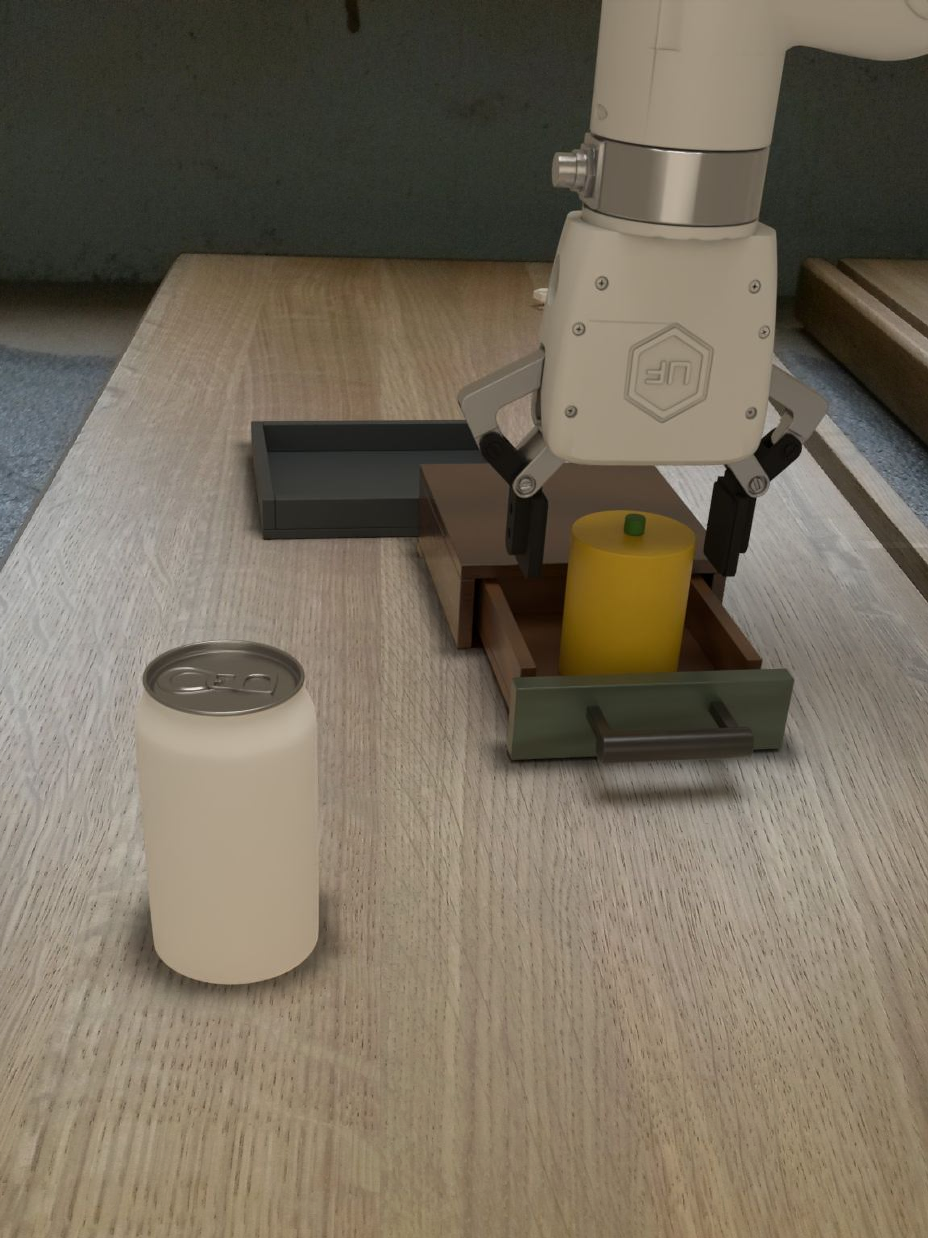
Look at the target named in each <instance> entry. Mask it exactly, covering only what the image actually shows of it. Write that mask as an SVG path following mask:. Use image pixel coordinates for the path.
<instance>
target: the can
mask: <svg viewBox="0 0 928 1238" xmlns="http://www.w3.org/2000/svg"><path fill="white" fill-rule="evenodd" d="M305 676H306V675H305V670H304V668H303V666H302V664H301V663H300V661H299V660H298V659H296V658H295V657H294V656H293V655H292V654H290V653H288V652H287V651H285V650H282V649H281V648H278V647H275V646H272V645H269V644H264V643H262V642H257V641H251V640H241V639H213V640H203V641H197V642H192V643H187V644H183V645H181V646H177V647H174V648H172V649H169V650H167V651H165V652H163V653H161V654H160V655H158V656H156V657H155V658H154V659H152V660H151V661H149V663H148V664H147V666H146V667H145V668H144V670H143V673H142V679H141V680H142V686H143V688H144V690H143V692H142V694H141V697H140V699H139V701H138V702H137V705H136V709H135V712H134V722H133V723H134V725H133V727H134V740H135V753H136V754H135V755H136V767H137V779H138V788H139V789H138V790H139V798H140V799H139V801H140V811H141V813H140V814H141V824H142V834H143V845H144V856H145V867H146V875H147V876H146V879H147V889H148V900H149V909H150V910H149V911H150V921H151V930H152V940H153V947H154V949H155V952H156V954H157V956H158V957H159V959H160V960H161V961H162V962H163V963H164V964H165V965H166V966H167V967H169V968H170V969H172V970H173V971H175V972H176V973H178V974H180V975H182V976H184V977H187V978H190V979H192V980H196V981H199V982H203V983H207V984H209V983H210V984H216V985H246V984H252V983H258V982H263V981H266V980H271V979H273V978H277V977H279V976H281V975H283V974H285V973H288V972H289V971H291V970H294V968H297V967H298V966H299V965H301V964H302V963H303V962H304V961H305V960H307V958H308V957H309V956H310V955H311V954H312V952H313V951H314V949H315V947H316V946H317V942H318V941H319V931H320V929H319V928H320V927H319V925H320V905H319V904H320V887H319V885H320V881H319V880H320V878H319V877H320V875H319V873H320V872H319V868H320V867H319V866H320V863H319V859H320V858H319V857H320V856H319V855H320V854H319V853H320V852H319V851H320V850H319V764H318V759H319V758H318V757H319V756H318V755H319V752H318V721H317V720H318V719H317V712H316V707H315V704H314V702H313V700H312V697H311V695H310V693H309V691H308V690H307V688H306V686H305V685H304V683H305V680H306V679H305V678H306V677H305Z"/></svg>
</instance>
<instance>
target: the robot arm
mask: <svg viewBox="0 0 928 1238" xmlns="http://www.w3.org/2000/svg"><path fill="white" fill-rule="evenodd" d="M597 41H598V42H597V52H596V62H595V71H594V82H593V91H592V92H593V93H592V102H591V111H590V112H591V113H590V121H589V122H590V123H589V130H590V131H589V132H585V133H584V137H583V138H584V139H583V142H582V143H581V144H580V148H579V149H578V148H577V149H576V148H574V149H572V151H571V152H564V151H563V152H562V151H556V152H554V155H553V158H552V164H551V183H552V186H553V187H554V188H568V189H569V191H571V192H576V194H578V199H579V200H580V201H581V202H582V206H581V210H572V211H570V212H568V213H567V215H566V218H565V221H564V224H563V226H562V227H563V228H562V231H561V234H560V237H559V241H558V245H557V248H556V252H555V257H554V260H553V263H552V269H551V273H550V277H549V282H548V287H547V289H548V291H547V296H546V301H545V302H544V307H543V311H542V317H541V322H540V329H539V333H538V334H539V335H538V340H537V347H536V350H534V351H532V352H530V353H528V354H526V355H523V357H520V358H519V359H516V360H514V361H513V362H510V363H508V364H507V365H505V366H501V368H499V369H497V370H495V371H493V372H490V373H489V374H486V375H485V376H482V377H480V378H479V379H476V380H475V381H473V382H471V383H469V384H467V385H464V386H463V387H461V388H460V389H459V391H458V392H457V394H456V402H457V404H458V406H459V407H460V410H461V413H462V415H463V417H464V420H466V422H467V424H468V426H469V428H470V431H471V433H472V435H473V437H474V439H475V442H476V444H477V446H478V448H479V450H480V452H481V454H482V455H483V457H484V458H485V459H486V461H487V462H488V463H489V464H490V465H491V466H492V467H493V468H494V469H495V470H496V471H497V472H498V474H499V475H500V476H501V477H502V478H503V479H504V480H505V481H506V482H507V483H508V484H509V498H508V510H507V523H506V535H505V544H506V550H507V552H508V554H509V555H515V558H516V560H517V562H518V564H519V566H520V568H521V570H522V572H523V574H524V576H525V578H526V579H537V578H538V576H541V574H542V566H543V556H544V545H545V535H546V525H547V514H548V500H547V498H546V496H545V495H544V493H543V491H542V486H543V485H544V484H545V483H546V482H547V481H548V479H549V478H550V477H551V476H552V475H553V474H554V473H555V472H556V471H557V470H558V469H559V468H560V467H561V466H562V465H563V464H564V463H575V464H583V465H628V466H655V467H657V466H659V467H660V466H661V467H663V466H669V467H671V466H672V467H673V466H677V467H678V466H681V467H682V466H683V467H684V466H685V467H686V466H689V467H690V466H693V467H694V466H695V467H696V466H723V467H724V469H725V470H724V472H723V473H724V474H723V475H717V479H716V480H715V481H714V482H713V486H712V492H711V498H710V505H709V511H708V517H707V523H706V528H705V529H706V535H705V541H704V548H703V552H704V555H705V556H706V558H707V559H708V560H709V561H710V563H711V564H712V565H713V567H714V568H715V569H716V571H717V572H718V573H719V574H721V575H722V576H723V577H726V578H733V577H735V576H736V574H737V570H738V564H739V559H740V554H746V553H747V551H748V549H749V544H750V538H751V533H752V529H753V528H752V527H753V522H754V517H755V510H756V506H757V499H758V498H761V497H762V496H764V495H765V494H766V493H767V492H768V490H769V489H770V485H771V482H772V481H773V480H774V479H776V477H778V476H779V475H780V474H781V473H782V472H784V471H785V470H786V469H787V468H788V467H790V466H791V464H793V463H794V462H795V461H796V460H797V459H798V458H799V457H800V456H801V454H802V451H803V445H804V444H805V443H806V441H809V439H811V438H810V437H811V436H812V435H813V433H814V432H815V431H816V429H817V427H818V426H819V425H820V423H821V422H822V421H823V419H824V417H825V416H826V415H827V413H828V410H829V406H830V404H829V401H828V399H826V397H824V395H822V394H821V393H820V392H818V391H817V390H816V389H814V388H812V387H811V386H809V385H808V384H806V383H804V382H803V381H801V380H800V379H798V378H797V377H795V376H793V375H792V374H790V373H788V372H787V371H785V370H784V369H783V368H780V367H779V366H777V365H776V364H774V363H773V361H774V349H775V348H774V347H775V336H776V335H775V333H776V319H777V298H778V297H777V293H778V242H777V231H776V229H775V228H773V227H771V226H769V225H767V224H764V223H763V222H761V221H759V219H760V212H761V206H762V199H763V194H764V193H763V192H764V187H765V181H766V176H767V170H768V164H769V163H768V162H769V158H770V157H769V156H770V149H771V145H772V140H773V134H774V133H773V132H774V128H775V127H774V126H775V120H776V114H777V109H778V101H779V95H780V90H781V83H782V76H783V71H784V65H785V59H786V52H787V51H788V50H790V49H791V48H793V47H798V46H801V47H809V48H814V49H819V50H822V51H825V52H828V53H834V54H838V55H844V56H848V57H853V58H854V57H855V58H860V59H866V60H871V61H882V62H895V61H896V62H897V61H906V60H911V59H914V58H919V57H923V56H926V55H928V0H601V10H600V19H599V31H598V40H597ZM530 394H531V396H530V397H531V398H530V413H531V421H532V423H533V425H534V426H533V427H532V428H531V429H530V431H528V433H527V434H526V435H525V436H524V437H523V438H522V440H520V442H519V443H518V444H517V445H516V446H514V445H513V444H512V443H511V441H510V440H509V439H508V438H507V437H506V436H505V435H504V434H503V433H501V432H502V431H501V429H500V425H499V424H498V421H497V414H498V412H499V411H500V410H501V409H503V407H506V406H507V405H510V404H511V403H513V402H515V401H517V400H519V399H521V398H524V397H526V396H527V395H530ZM769 398H770V399H772V400H774V401H775V402H776V403H779V404H780V405H782V406H784V407H783V408H784V412H783V415H782V416H781V418H780V419H779V423H778V424H777V426H776V427H774V428H772V429H771V430H770V431H768V432H767V433H766V434H765V435H764V436H763V434H764V429H765V423H766V419H767V412H768V406H769Z"/></svg>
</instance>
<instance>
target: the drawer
mask: <svg viewBox="0 0 928 1238" xmlns="http://www.w3.org/2000/svg"><path fill="white" fill-rule="evenodd" d="M566 582H567V577H538V578H537V579H526V578H525V577H524V578H481V579H477V587H476V604H475V610H476V611H475V625H476V627H477V630H478V633H479V635H480V638H481V640H482V643H483V645H484V648H485V649H484V650H485V653H486V654H487V658H488V660H489V662H490V665H491V668H492V670H493V674H494V676H495V678H496V680H497V683H498V685H499V688H500V691H501V693H502V695H503V698H504V700H505V703H506V706H507V708H508V711H509V712H508V713H509V714H508V726H507V727H508V728H507V739H506V741H507V742H506V749H507V752H508V754H509V756H510V760H511V761H518V760H519V761H520V760H539V759H542V760H543V759H544V760H545V759H564V758H565V759H567V758H588V757H590V758H591V757H596V758H597V761H598V763H599V765H607V764H608V765H609V764H610V765H612V764H631V763H632V764H635V763H655V762H657V763H658V762H680V761H681V762H682V761H703V760H704V761H705V760H726V759H727V760H729V759H748V758H750V757H752V756H753V753H754V750H755V751H757V750H774V749H777V750H778V749H782V747H783V741H784V736H785V730H786V726H787V720H788V715H789V711H790V705H791V700H792V696H793V690H794V685H795V677H793V675H792V673H791V672H790V671H789V670H788V668H783V667H782V668H781V667H780V668H762V665H763V658H762V657H761V655H760V654H759V653H758V652H757V650H756V648H755V647H754V646H753V644H752V643H751V642H750V640H749V639H748V638H747V637H746V635H745V634H744V633H743V630H741V628H740V627H739V626H738V624H737V623H736V622H735V620H734V619H733V617H732V616H731V614H730V613H729V612H728V611H727V609H726V608H725V607H724V605H723V603H722V604H721V603H720V601H719V600H718V598H717V597H716V596H715V594H714V593H713V592H712V590H711V589H710V588H709V586H708V585H707V584H706V582H705V581H704V579H703V578H702V577H701V575H700V574H699V573H696V574H691V579H690V586H689V593H688V600H687V607H686V613H685V620H684V627H683V634H682V641H681V648H680V655H679V662H678V669H677V672H662V673H632V674H603V675H573V676H561V675H560V672H559V656H560V645H561V635H562V624H563V614H564V603H565V592H566Z"/></svg>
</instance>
